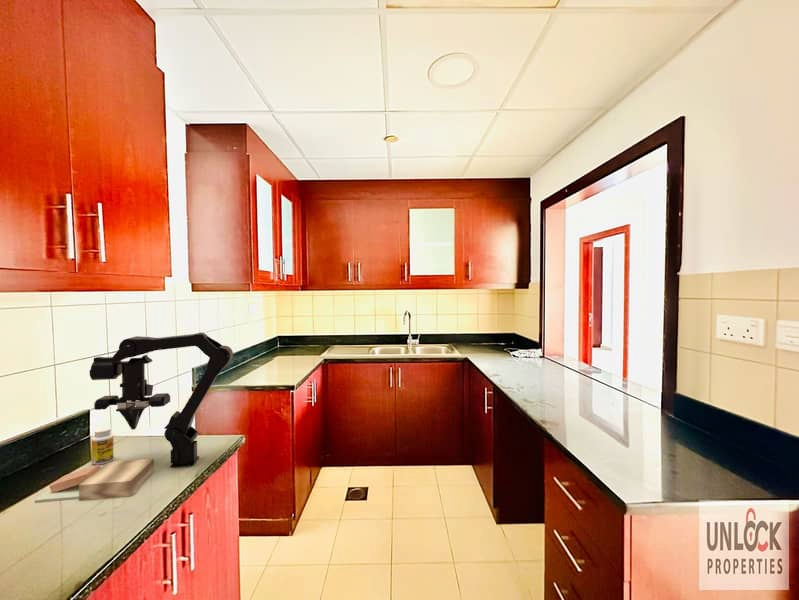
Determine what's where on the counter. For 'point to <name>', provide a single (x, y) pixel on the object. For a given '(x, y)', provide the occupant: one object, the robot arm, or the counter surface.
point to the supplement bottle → (102, 446)
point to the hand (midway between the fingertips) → (133, 429)
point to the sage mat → (60, 494)
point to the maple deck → (116, 479)
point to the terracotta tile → (73, 479)
